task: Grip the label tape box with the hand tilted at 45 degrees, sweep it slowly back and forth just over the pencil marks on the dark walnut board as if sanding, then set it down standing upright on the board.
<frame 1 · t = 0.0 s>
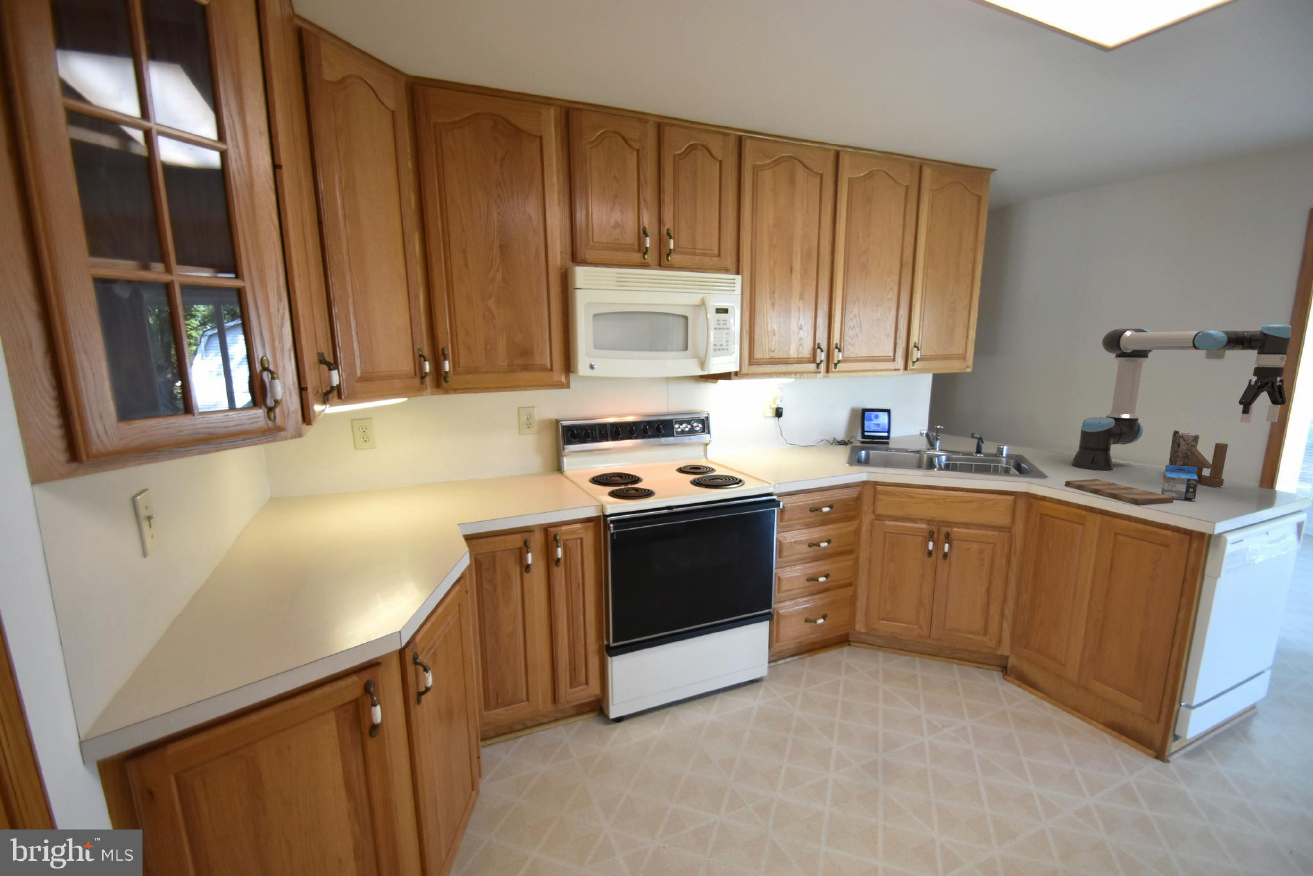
hand: (1258, 422, 203), 28 cm above the counter, tool pointing down, fingers open, 13 cm apart
stone block: (1177, 476, 236), on the counter
label tape box: (1177, 499, 200), on the counter
wooden block: (1203, 484, 221), on the counter
walnut board: (1115, 493, 206), on the counter
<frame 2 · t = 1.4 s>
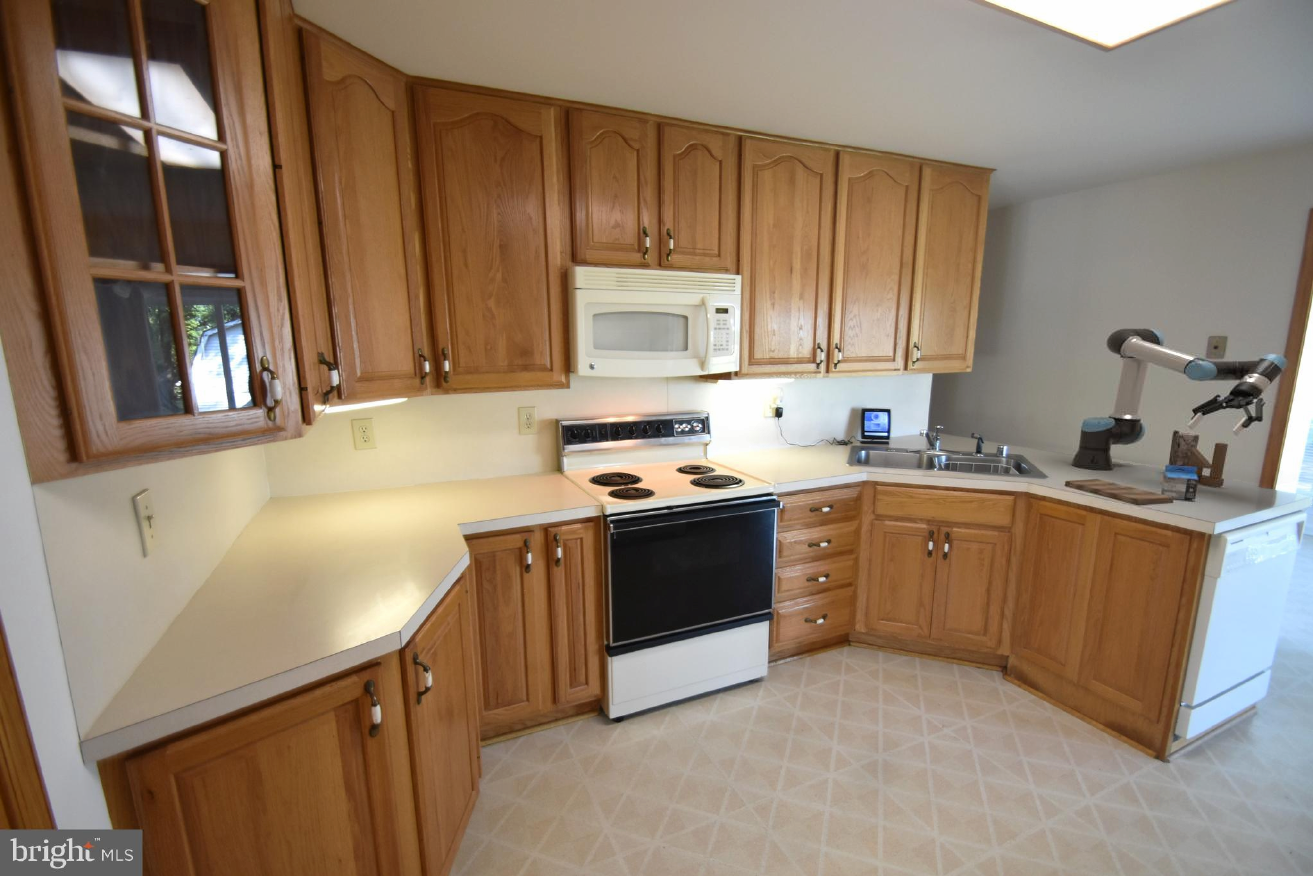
hand: (1211, 430, 198), 26 cm above the counter, tool tilted 45°, fingers open, 13 cm apart
nothing on the counter moved.
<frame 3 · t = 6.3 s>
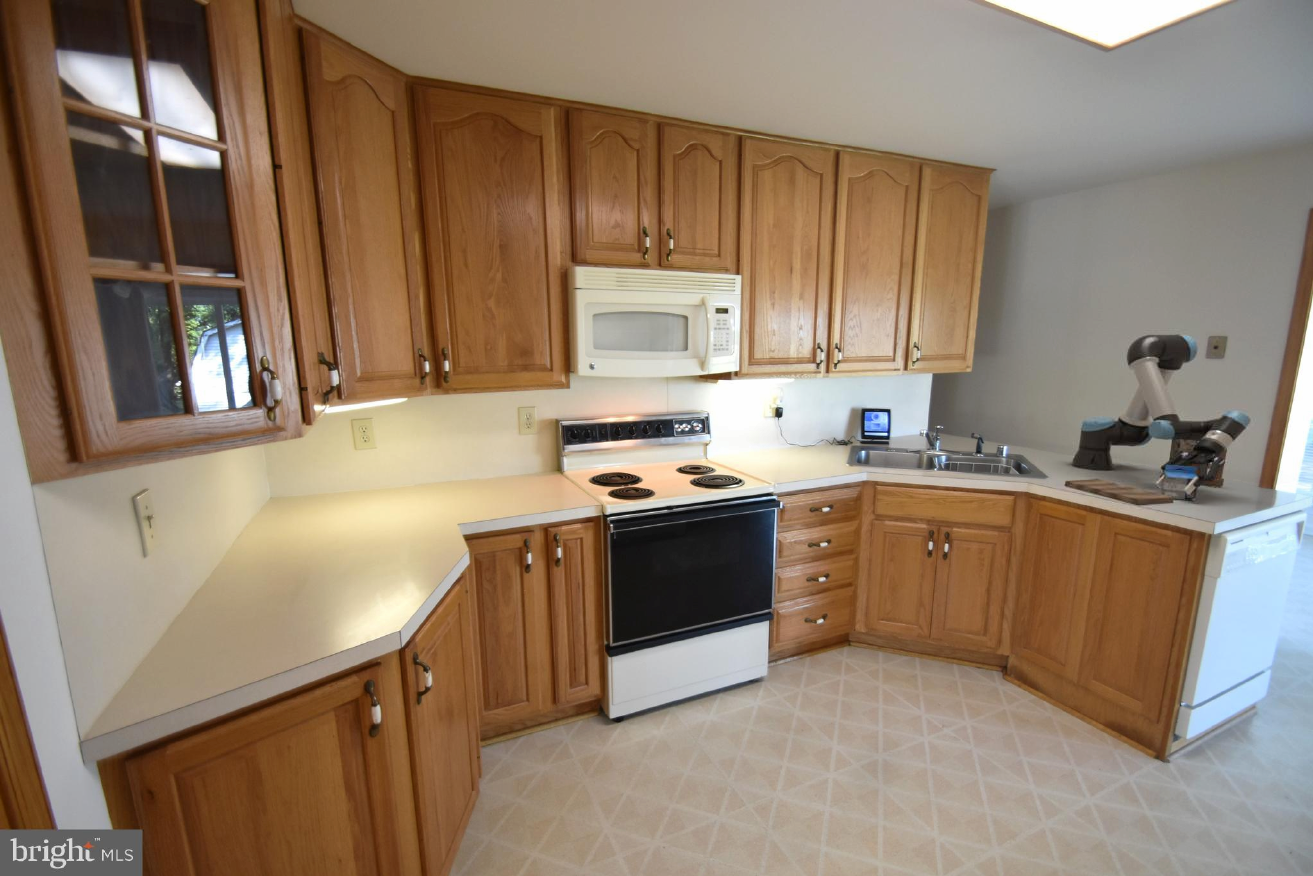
hand: (1172, 488, 199), 4 cm above the counter, tool tilted 45°, fingers closed on label tape box, 8 cm apart
label tape box: (1177, 498, 200), on the counter, touching gripper
everything else where it was.
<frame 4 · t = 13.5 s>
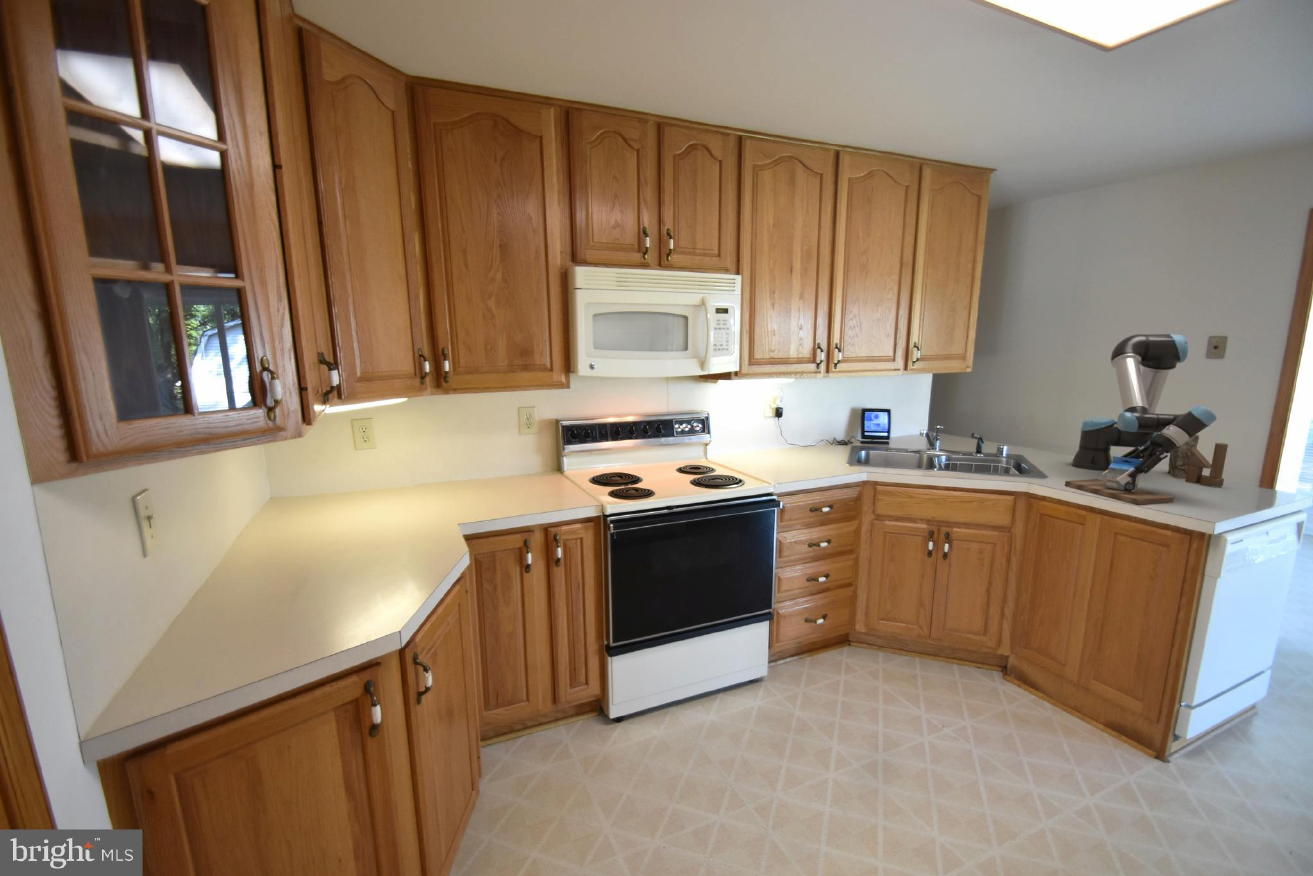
hand: (1112, 479, 205), 6 cm above the counter, tool tilted 45°, fingers closed on label tape box, 8 cm apart
label tape box: (1120, 490, 205), point 2 cm above the counter, touching gripper
everything else where it was.
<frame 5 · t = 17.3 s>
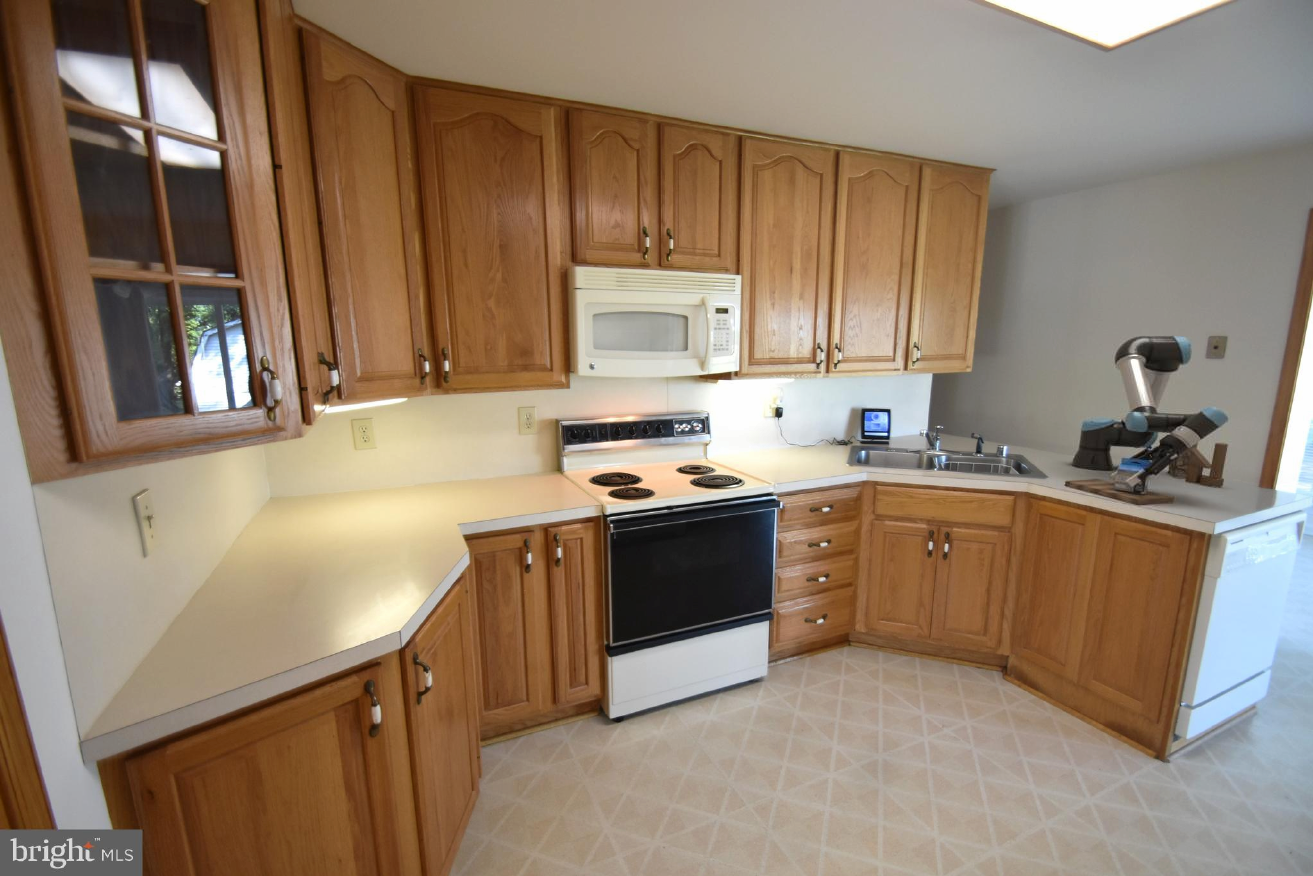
hand: (1121, 480, 201), 6 cm above the counter, tool tilted 45°, fingers closed on label tape box, 8 cm apart
label tape box: (1130, 491, 201), point 2 cm above the counter, touching gripper
everything else where it was.
when the fingers open (7 cm above the counter, at t = 20.6 s): label tape box drops 1 cm, resting on walnut board.
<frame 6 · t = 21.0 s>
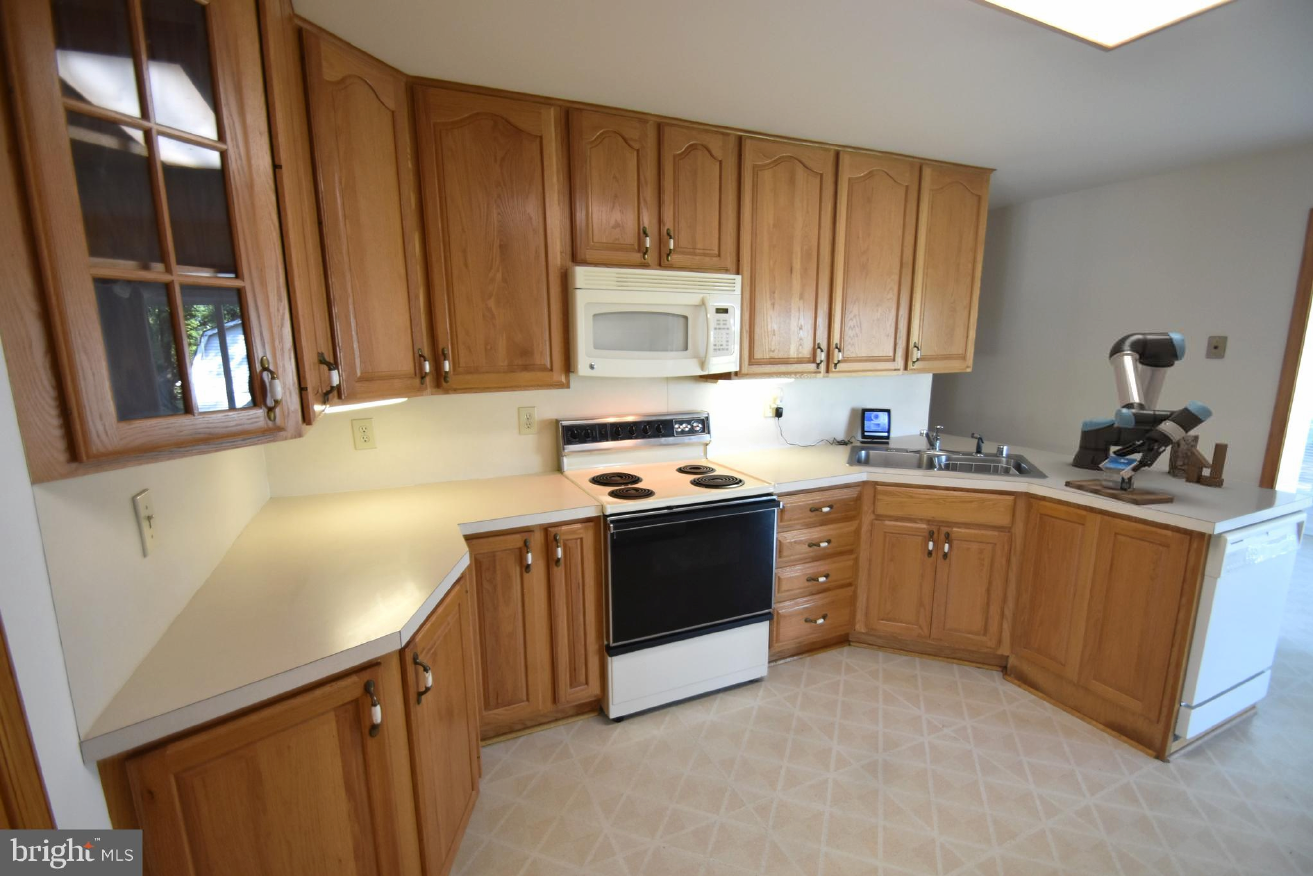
hand: (1111, 472, 205), 8 cm above the counter, tool tilted 45°, fingers open, 13 cm apart
label tape box: (1116, 489, 206), point 2 cm above the counter, touching walnut board
everything else where it was.
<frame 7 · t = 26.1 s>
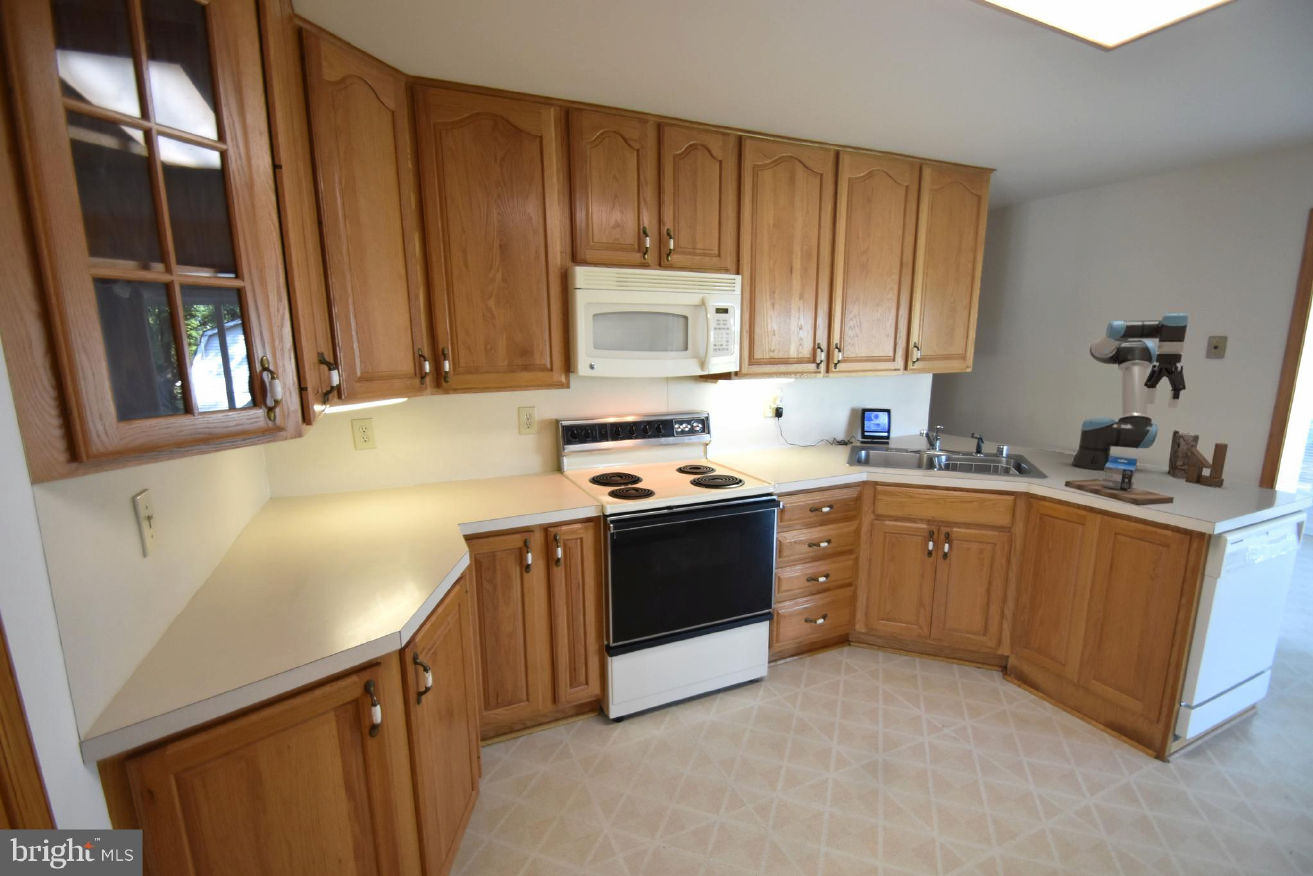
hand: (1160, 405, 217), 33 cm above the counter, tool pointing down, fingers open, 13 cm apart
nothing on the counter moved.
at the end: label tape box inside the target area on the walnut board (0.1 cm from its centre), point 1.8 cm above the walnut board's base; label tape box tilted 0°; the gripper is holding nothing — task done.
